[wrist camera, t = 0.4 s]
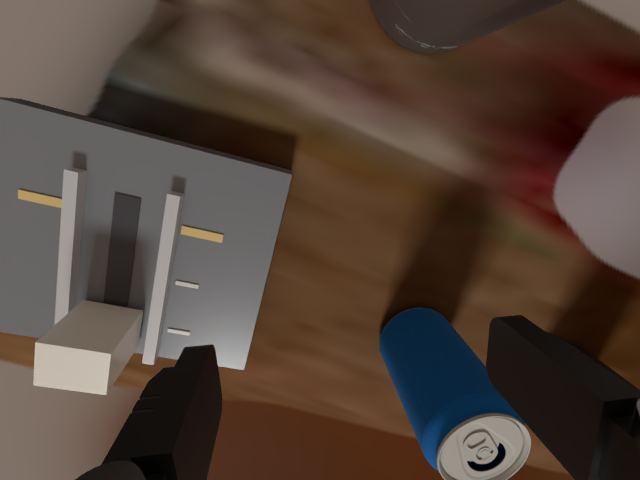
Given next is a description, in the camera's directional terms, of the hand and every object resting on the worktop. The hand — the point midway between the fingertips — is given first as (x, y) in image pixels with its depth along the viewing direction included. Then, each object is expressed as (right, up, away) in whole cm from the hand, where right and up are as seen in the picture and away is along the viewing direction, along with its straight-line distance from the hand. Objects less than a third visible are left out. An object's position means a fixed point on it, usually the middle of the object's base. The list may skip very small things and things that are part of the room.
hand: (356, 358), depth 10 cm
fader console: (-14, +3, +16) cm, 22 cm away
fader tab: (-16, -3, +15) cm, 22 cm away
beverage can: (+7, -5, +22) cm, 23 cm away
